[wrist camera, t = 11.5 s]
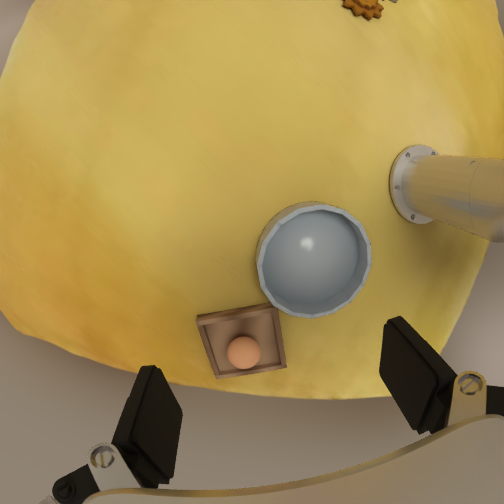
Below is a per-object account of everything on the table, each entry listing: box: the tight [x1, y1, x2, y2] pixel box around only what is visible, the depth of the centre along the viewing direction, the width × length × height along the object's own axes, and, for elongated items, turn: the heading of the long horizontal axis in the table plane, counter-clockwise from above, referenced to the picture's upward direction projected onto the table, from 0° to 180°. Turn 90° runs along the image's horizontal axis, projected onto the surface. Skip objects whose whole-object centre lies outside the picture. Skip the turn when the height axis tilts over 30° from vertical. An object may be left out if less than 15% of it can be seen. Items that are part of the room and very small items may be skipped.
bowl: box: [255, 201, 371, 319], centre depth 37 cm, size 16×16×4 cm
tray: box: [196, 302, 287, 379], centre depth 42 cm, size 12×12×2 cm
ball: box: [227, 337, 261, 369], centre depth 39 cm, size 5×5×5 cm
